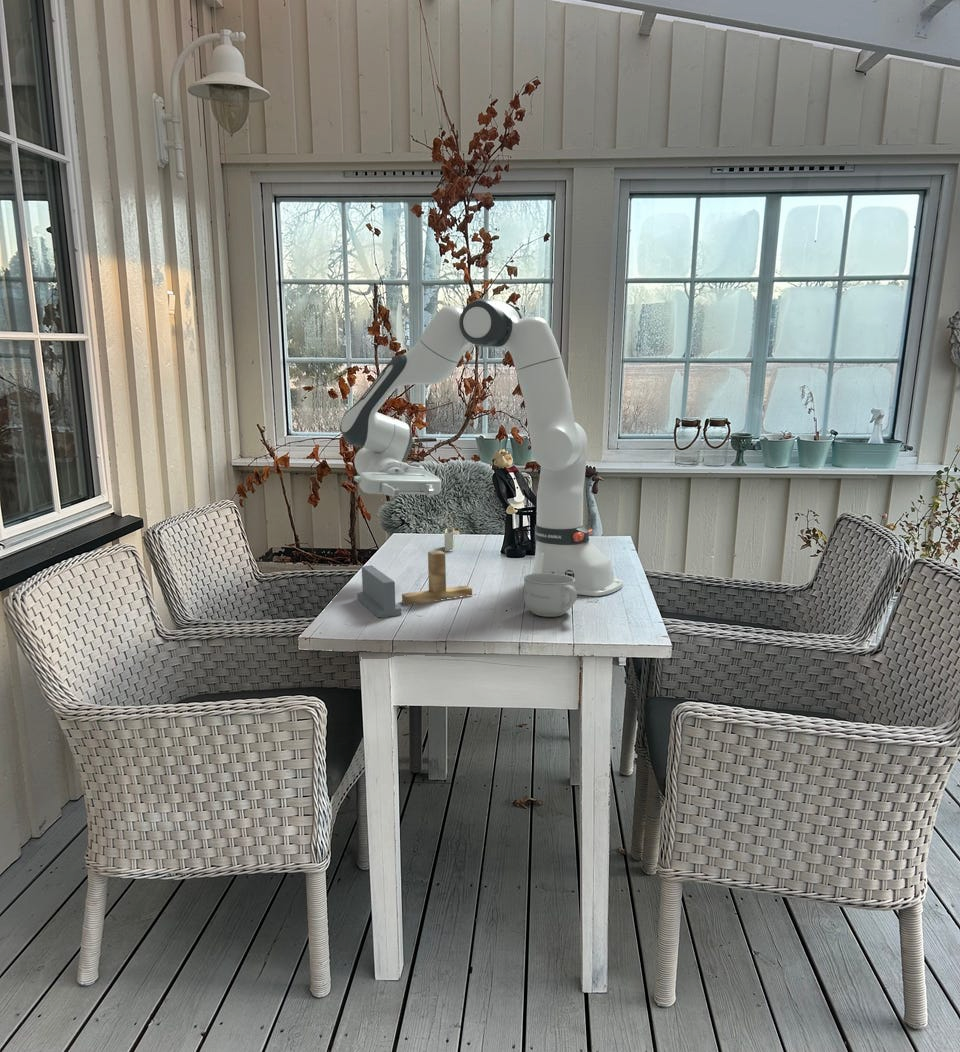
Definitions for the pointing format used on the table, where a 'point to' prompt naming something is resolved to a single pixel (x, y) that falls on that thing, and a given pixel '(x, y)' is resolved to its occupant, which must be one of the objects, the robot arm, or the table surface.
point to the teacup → (549, 593)
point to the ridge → (378, 593)
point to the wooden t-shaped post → (436, 583)
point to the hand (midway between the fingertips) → (414, 493)
